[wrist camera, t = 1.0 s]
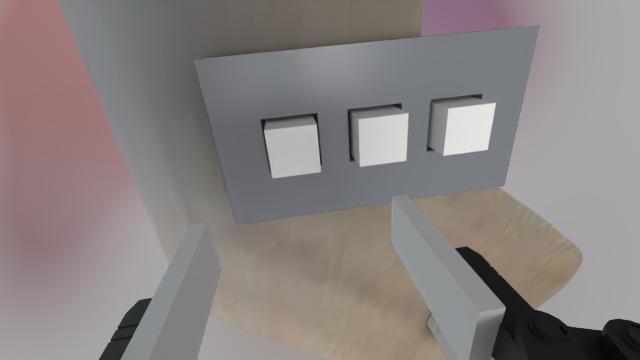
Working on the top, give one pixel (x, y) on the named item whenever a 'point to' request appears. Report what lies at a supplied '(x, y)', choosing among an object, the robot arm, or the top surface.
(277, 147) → the button
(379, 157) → the button
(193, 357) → the robot arm
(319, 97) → the console
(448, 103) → the button
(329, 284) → the top surface
